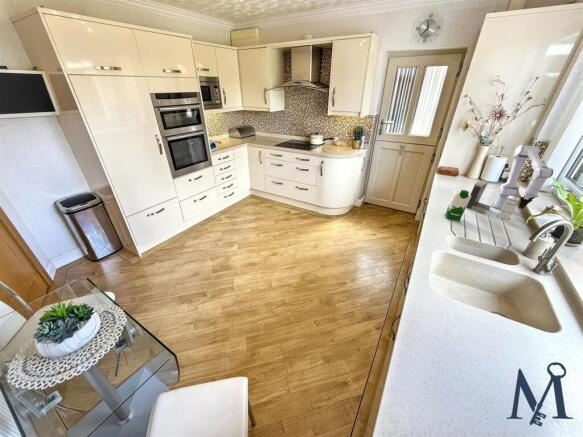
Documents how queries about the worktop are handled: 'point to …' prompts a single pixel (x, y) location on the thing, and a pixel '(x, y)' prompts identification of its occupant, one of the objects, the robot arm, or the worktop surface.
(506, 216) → the syrup box
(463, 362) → the worktop surface
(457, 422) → the worktop surface
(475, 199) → the grey block
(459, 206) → the milk carton
